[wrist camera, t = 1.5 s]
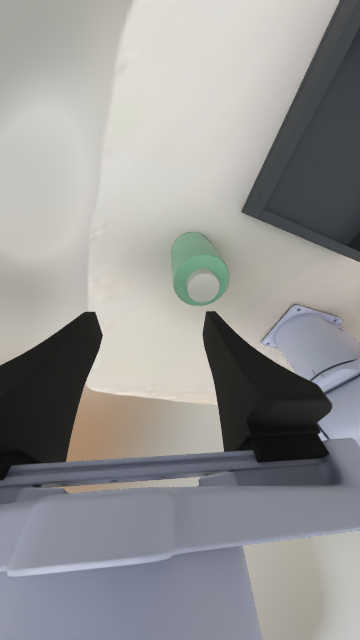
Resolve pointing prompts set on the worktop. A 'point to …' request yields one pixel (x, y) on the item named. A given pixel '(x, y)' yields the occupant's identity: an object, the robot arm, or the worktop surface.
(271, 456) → the robot arm
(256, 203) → the dark gray rectangular tray
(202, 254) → the mint green cylinder
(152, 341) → the worktop surface
